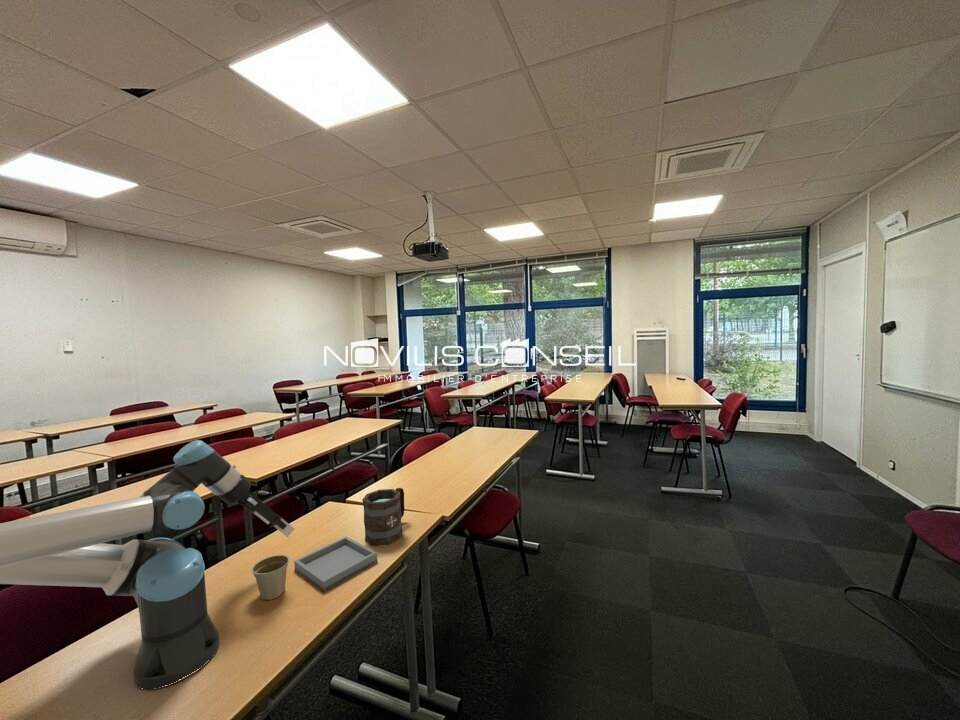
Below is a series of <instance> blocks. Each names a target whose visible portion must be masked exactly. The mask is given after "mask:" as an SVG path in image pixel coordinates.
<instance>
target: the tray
mask: <svg viewBox="0 0 960 720" xmlns="http://www.w3.org/2000/svg"><path fill="white" fill-rule="evenodd" d="M293 562H294V571H295V572H297V573H298V574H299V575H300V576H302V577H304V578H305V579H306V580H308V581H309V582H310V583H312V584H313V585H314V586H315V587H316V588H318V589H319V590H321V591H322V592H324V593H326V592H327V591H329V590H330V589H332V588H334V587H336V586H337V585H339V584H341V583H343V582H345V581H347V580H348V579H350V578H352V577H354V576H355V575H357V574H359V573H361V572H362V571H364V570H365V568H366V569H367V568H370V567H371V566H373V565H374V564H376V563H378V552H377V551H374V550H373V549H370V548H369V547H367V546H365V545H363V544H362V543H360V542H358V541H356V540H354V539H352V538H350V537H348V536H344V537H342V538H340V539H338V540H336V541H333V542H331V543H329V544H327V545H325V546H322V547H321V548H318V549H316V550H315V551H312V552H310V553H307V554H305V555H304V556H302V557H300V558H297V559H296V560H293ZM375 562H376V563H375ZM372 564H373V565H372ZM370 565H371V566H370ZM358 572H359V573H358Z"/></svg>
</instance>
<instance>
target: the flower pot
mask: <svg viewBox="0 0 960 720" xmlns="http://www.w3.org/2000/svg"><path fill="white" fill-rule="evenodd" d="M289 562H290V557H289V556H287V555H285V554H275V555H271V556H268V557H265V558H263V559H260V560H259V561H257V562H256V563H254V565H253V566H252V568H251V573H252V574H253V577H254V578H255V580H256V584H257V588H258V592H259V595H260V599H262V600H263V601H265V600H268V601H269V600H273V599H276V598H278V597H280V596H281V595H282V594H283V593H284V592H285V591H286V580H287V579H286V578H287V569H288V565H289Z"/></svg>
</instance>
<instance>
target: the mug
mask: <svg viewBox="0 0 960 720" xmlns="http://www.w3.org/2000/svg"><path fill="white" fill-rule="evenodd" d="M361 501H362V505H363V524H364V542H366V543H367V544H368V545H370V546H371V547H380V545H387V546H389V545H391V544H393V543H395V541H396V542H398V541H400V540H399V539H401V538H400V537H402V535H403V533H404V531H403V527H402V526H403V525H402V518H403V517H404V515H405V492H404V488H402V487H396V489H394V488H388V489H386V488H385V489H378V490H373V491H371V492H368V493H366V494H365V495H364V496H363V498H362V500H361ZM402 532H403V533H402ZM397 540H398V541H397ZM392 542H393V543H392ZM388 544H389V545H388Z"/></svg>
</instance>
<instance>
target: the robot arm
mask: <svg viewBox="0 0 960 720" xmlns="http://www.w3.org/2000/svg"><path fill="white" fill-rule="evenodd" d="M173 462H174V463H175V466H174V467H173V468H172V469H171V470H169V471H168V473H166V474H165V475H164V476H162V477H161V478H160V479H159V480H158V481H156V482H155V483H154V484H153V485H152V486H150V487H149V488H148V489H146V490H144V491H143V492H142V494H141V495H140V496H139V497H135V498H134V497H133V498H130V499H129V498H127V499H123V500H118V501H112V502H108V503H103V504H98V505H97V504H96V505H92V506H86V507H81V508H75V509H71V510H65V511H59V512H54V513H49V514H43V515H38V516H33V517H27V518H23V519H22V518H21V519H16V520H11V521H6V522H1V523H0V585H24V586H25V585H26V586H29V585H30V586H51V587H52V586H54V587H55V586H56V587H57V586H59V587H78V588H79V587H80V588H81V587H82V588H83V587H86V588H101V589H102V590H103V591H104V593H105V595H106V596H115V597H116V596H119V597H120V596H121V597H133V598H134V601H135V603H136V604H137V608H138V613H139V624H140V625H139V626H140V633H141V643H140V647H139V650H138V654H137V657H136V661H135V664H134V667H133V681H134V684H136V685H137V686H138V687H140V688H143V689H142V690H144V689H154V688H159V687H162V686H165V685H169V684H171V683H174V682H176V681H178V680H179V679H182V678H183V677H185V676H187V675H189V674H191V673H192V672H194V671H196V670H197V669H199V668H200V667H201V666H203V665H204V664H205V663H206V662H207V661H208V660H210V659H211V658H212V659H213V658H214V656H215V655H216V653H217V652H218V650H219V647H220V635H219V631H218V629H217V627H216V626H215V624H214V622H213V621H212V620H213V619H211V617H210V615H209V612H208V604H207V603H208V602H207V601H208V600H207V590H206V576H205V571H206V566H205V561H204V560H203V559H204V558H203V555H202V553H201V552H200V551H199V550H197V549H196V548H193V547H188V548H186V547H185V546H183V545H182V544H181V543H180V542H178V541H176V540H174V539H172V538H168V537H155V538H150V539H148V540H146V539H145V540H144V539H132V540H129V541H128V542H126V543H124V544H113V543H108V542H111V541H114V540H115V541H116V540H120V539H123V538H127V537H132V536H136V535H139V534H140V535H141V534H143V533H144V534H145V533H148V532H154V531H156V530H160V529H161V530H162V529H165V528H169V529H173V530H185V529H188V528H190V527H192V526H194V525H195V524H196V523H198V521H199V520H200V519H201V518H202V516H203V514H204V512H205V509H206V506H205V502H204V500H203V499H202V498H201V496H200V494H198V492H195V490H196V489H197V488H198V487H199V486H200V485H201V484H202V485H203V487H205V488H206V489H207V490H208V491H210V492H211V493H212V494H214V495H215V496H218V498H219V499H220V500H222V501H223V502H224V503H226V504H228V505H230V504H234V503H236V502H237V504H239V505H240V506H242V507H244V508H246V509H247V510H249V511H250V512H252V513H253V514H254V515H255V516H257V517H258V518H259V519H260V520H262V521H263V522H264V523H266V524H267V525H269V524H270V525H269V527H270V528H272V527H274V528H275V529H276V530H277V531H279V532H280V533H281V534H283V535H284V536H285V537H286V538H289V536H290V535H291V534H292V532H294V531H295V527H293V526H292V525H291V524H290V523H288V522H287V521H286V520H285V519H283V517H282V515H279V514H278V513H277V512H275V511H274V510H273V509H271V508H270V507H269V506H268V505H266V504H265V503H264V502H263V500H262V499H261V498H259V497H258V496H257V494H256V493H254V492H253V491H250V488H251V485H252V482H251V481H250V479H248V478H247V477H246V476H245V475H244V474H241V472H240V471H238V470H237V469H236V468H237V465H236V464H233V465H232V464H230V463H229V461H227V460H226V459H225V458H224V457H223V456H221V455H220V454H219V453H218V452H217V451H216V450H215V449H214V448H213V447H211V446H210V445H209V444H207V443H205V442H204V441H203V440H199V439H198V440H197V439H196V440H193V441H190V442H189V443H187V444H186V445H184V446H183V447H182V448H180V449H179V450H178V452H176V454H175V455H174V456H173ZM106 542H107V543H106ZM214 654H215V655H214ZM213 655H214V656H213ZM212 659H211V660H212ZM211 660H210V661H211ZM204 666H205V665H204ZM204 666H203V667H204ZM136 685H135V686H136ZM137 686H136V687H137ZM138 687H137V688H138ZM140 688H139V689H140ZM154 690H155V689H154Z"/></svg>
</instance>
